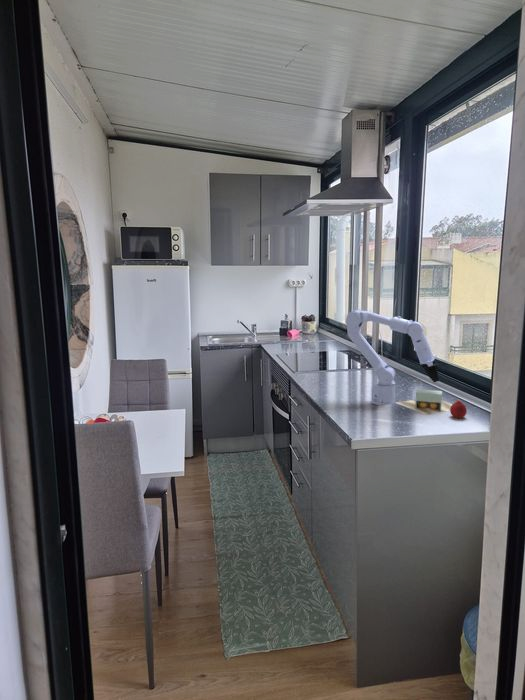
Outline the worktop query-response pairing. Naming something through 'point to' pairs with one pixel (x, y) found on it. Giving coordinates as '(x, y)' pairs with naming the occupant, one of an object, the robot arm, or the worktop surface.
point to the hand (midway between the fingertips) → (434, 380)
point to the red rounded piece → (458, 409)
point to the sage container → (428, 397)
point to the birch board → (425, 410)
